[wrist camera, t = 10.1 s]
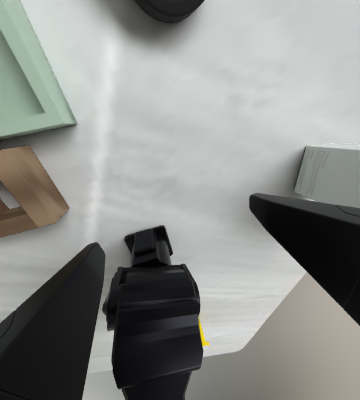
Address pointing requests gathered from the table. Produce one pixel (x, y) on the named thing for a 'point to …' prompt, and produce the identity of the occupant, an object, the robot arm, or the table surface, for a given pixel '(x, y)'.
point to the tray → (26, 79)
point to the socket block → (28, 192)
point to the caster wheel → (169, 9)
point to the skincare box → (331, 174)
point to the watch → (204, 344)
